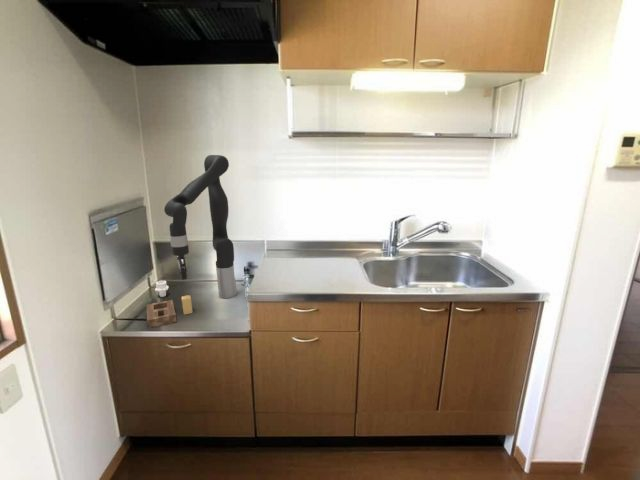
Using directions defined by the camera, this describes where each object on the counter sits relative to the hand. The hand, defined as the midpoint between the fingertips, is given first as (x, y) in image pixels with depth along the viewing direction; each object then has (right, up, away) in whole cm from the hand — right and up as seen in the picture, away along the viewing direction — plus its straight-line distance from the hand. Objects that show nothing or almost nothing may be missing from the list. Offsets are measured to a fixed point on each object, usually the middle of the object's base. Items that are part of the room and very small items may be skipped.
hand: (183, 276), depth 169 cm
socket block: (-11, -20, 0) cm, 23 cm away
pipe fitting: (-21, -13, +24) cm, 35 cm away
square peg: (0, -18, +5) cm, 19 cm away
